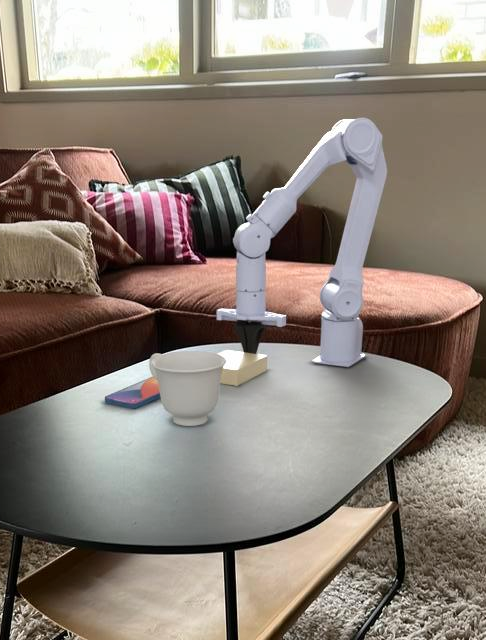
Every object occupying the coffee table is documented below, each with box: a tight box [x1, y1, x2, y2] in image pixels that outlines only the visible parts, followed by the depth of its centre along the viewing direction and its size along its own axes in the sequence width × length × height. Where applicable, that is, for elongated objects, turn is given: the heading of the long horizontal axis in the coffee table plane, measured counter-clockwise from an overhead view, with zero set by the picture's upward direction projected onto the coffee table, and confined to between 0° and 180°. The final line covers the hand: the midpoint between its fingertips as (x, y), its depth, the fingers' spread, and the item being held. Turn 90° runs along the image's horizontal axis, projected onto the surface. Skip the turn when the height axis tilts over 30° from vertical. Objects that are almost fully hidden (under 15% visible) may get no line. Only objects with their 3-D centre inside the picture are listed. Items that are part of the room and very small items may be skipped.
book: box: [216, 349, 268, 387], centre depth 147 cm, size 12×9×3 cm
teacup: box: [148, 350, 227, 427], centre depth 123 cm, size 12×15×10 cm
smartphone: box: [104, 376, 161, 409], centre depth 137 cm, size 7×15×1 cm, turn 145°
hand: (250, 359), depth 153 cm, fingers closed, pressing on book
